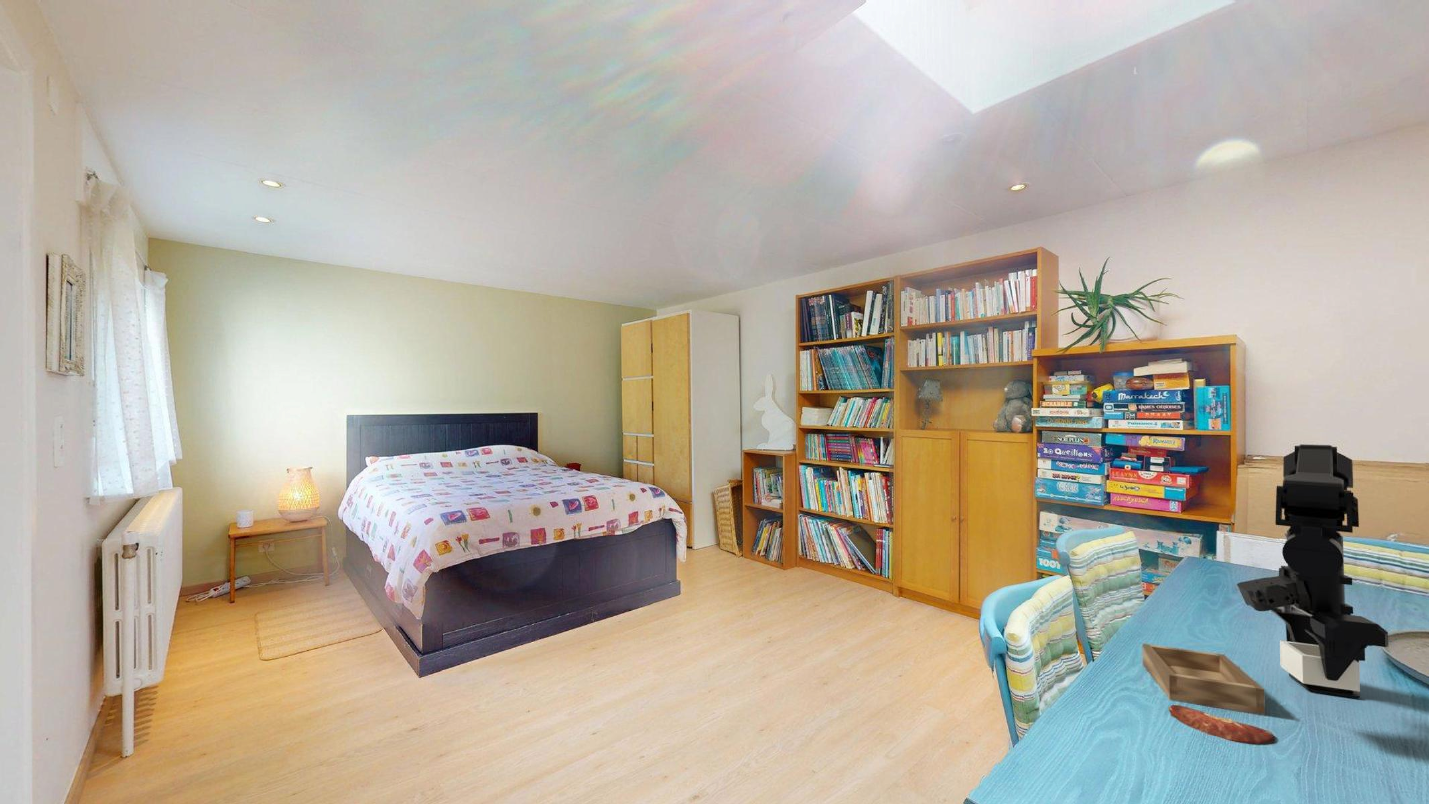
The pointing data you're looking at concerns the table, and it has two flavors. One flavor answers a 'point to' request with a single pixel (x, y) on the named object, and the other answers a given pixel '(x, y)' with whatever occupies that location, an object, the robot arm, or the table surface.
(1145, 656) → the walnut crate
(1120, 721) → the table surface
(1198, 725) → the steak
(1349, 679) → the cream crate
